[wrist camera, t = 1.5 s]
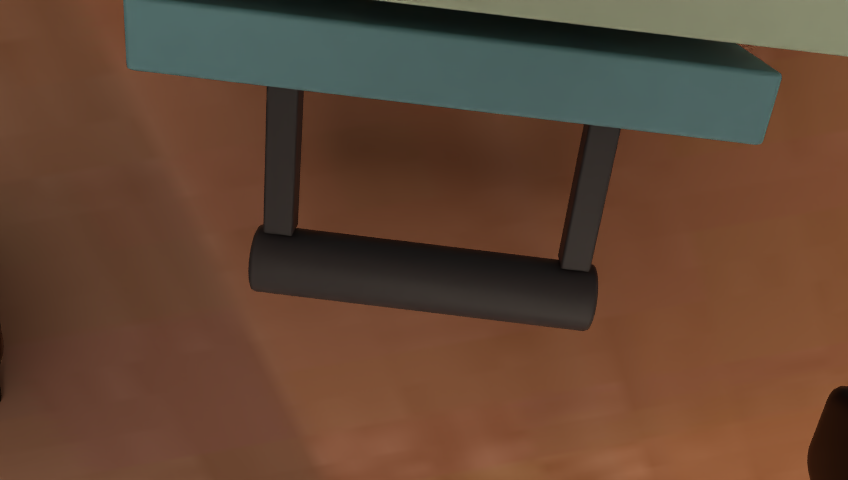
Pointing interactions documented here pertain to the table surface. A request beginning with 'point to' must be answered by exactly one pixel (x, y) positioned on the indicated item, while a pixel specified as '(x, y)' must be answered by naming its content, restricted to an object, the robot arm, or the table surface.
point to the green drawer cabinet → (689, 18)
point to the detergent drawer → (460, 89)
